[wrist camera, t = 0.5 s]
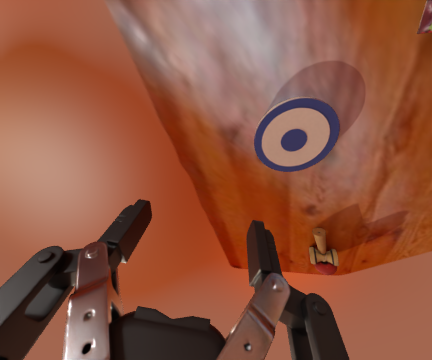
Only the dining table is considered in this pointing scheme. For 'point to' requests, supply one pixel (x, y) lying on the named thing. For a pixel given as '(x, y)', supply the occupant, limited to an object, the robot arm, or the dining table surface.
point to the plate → (296, 134)
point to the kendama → (323, 254)
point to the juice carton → (426, 19)
